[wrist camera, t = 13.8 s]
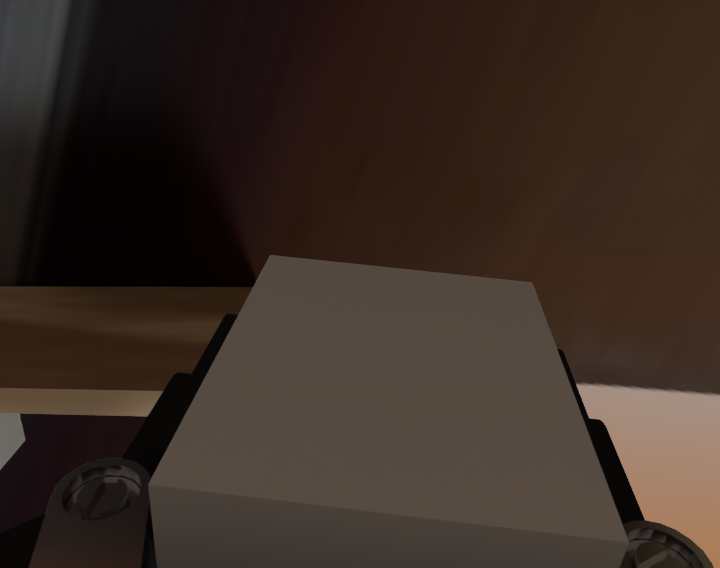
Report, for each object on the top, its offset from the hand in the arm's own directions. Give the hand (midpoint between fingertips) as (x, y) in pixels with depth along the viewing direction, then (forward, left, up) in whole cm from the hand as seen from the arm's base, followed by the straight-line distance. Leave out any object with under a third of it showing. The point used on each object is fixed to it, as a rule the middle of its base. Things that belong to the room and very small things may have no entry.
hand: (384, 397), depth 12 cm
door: (-9, +14, -17) cm, 24 cm away
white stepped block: (-1, 0, -1) cm, 2 cm away
